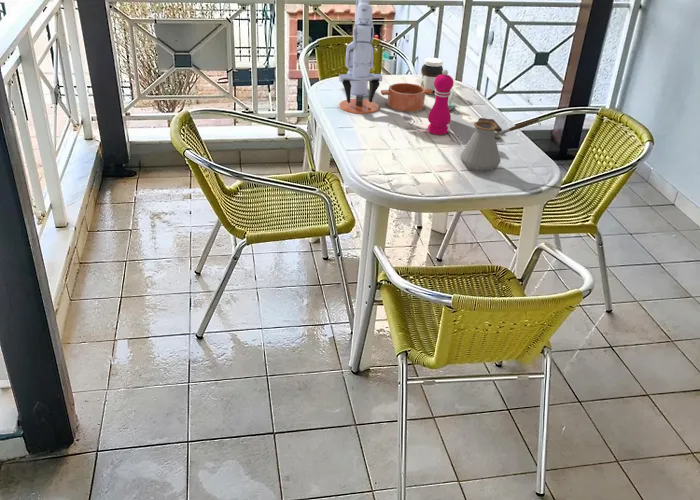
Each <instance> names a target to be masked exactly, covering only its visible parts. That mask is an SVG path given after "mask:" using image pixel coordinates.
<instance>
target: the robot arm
mask: <svg viewBox="0 0 700 500" xmlns="http://www.w3.org/2000/svg"><path fill="white" fill-rule="evenodd" d="M352 29H353V31H352V41H350V43H348V44H347V46H346V48H345V49H346V51H345V62H344V63H345V68H346V69H348V70H347V73H343V74H342V73H341V74H338V82H340V83H342V86H343V89H344V92H345V97H346V100H347V102H348V103H350V99H351V97H356V95H363V97H364V96H365V97H366V96H368V100H369V102H372V101H373V99H374V96H375V94H376V92H377V90H378V88H379V87H380V82H383V74H381V73H371V70H372V68H374V57H375V56H374V54H375V53H374V47H373V45H372V43H373V42H374V38H375V37H374V35H375V28H374V22H373V6H371V5H370V0H355V8H354V26H353V28H352ZM368 89H369V90H368Z"/></svg>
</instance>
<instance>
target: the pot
mask: <svg viewBox="0 0 700 500" xmlns="http://www.w3.org/2000/svg"><path fill="white" fill-rule="evenodd" d="M404 93H411V94H404ZM432 93H433V91H432V90H431V89H424V87H421V86H420V84H415V83H408V82H398V83H397V82H396V83H393V84H391V85H389V86H388V89H381V90H380V94H381V96H387V106H388V108H391V109H393V110H396V111H401V112H417V111H421V110H424V107H425V98H426V95H433V94H432Z"/></svg>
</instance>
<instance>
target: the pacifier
mask: <svg viewBox="0 0 700 500" xmlns="http://www.w3.org/2000/svg"><path fill="white" fill-rule="evenodd" d="M454 97H455V92H454V91H453V90H451V93H450V96H449V98H448V108H449V111H452V109H453V108H457V107H458V105H455V104H454V103H453V101H452V100H453V99H454Z"/></svg>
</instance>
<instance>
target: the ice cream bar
mask: <svg viewBox="0 0 700 500" xmlns="http://www.w3.org/2000/svg"><path fill="white" fill-rule="evenodd" d="M477 121H488V122H492V123H494V124H496V125H497V129H495V131H494V133H497V132H500V131H503V128H501V126H500V125H499V124H498V123H497V122H496V120H495V119H494V118H486V117H479V118H478V120H477ZM495 138H497V139H499V138H501V135H498V136H496V137H495Z"/></svg>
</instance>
